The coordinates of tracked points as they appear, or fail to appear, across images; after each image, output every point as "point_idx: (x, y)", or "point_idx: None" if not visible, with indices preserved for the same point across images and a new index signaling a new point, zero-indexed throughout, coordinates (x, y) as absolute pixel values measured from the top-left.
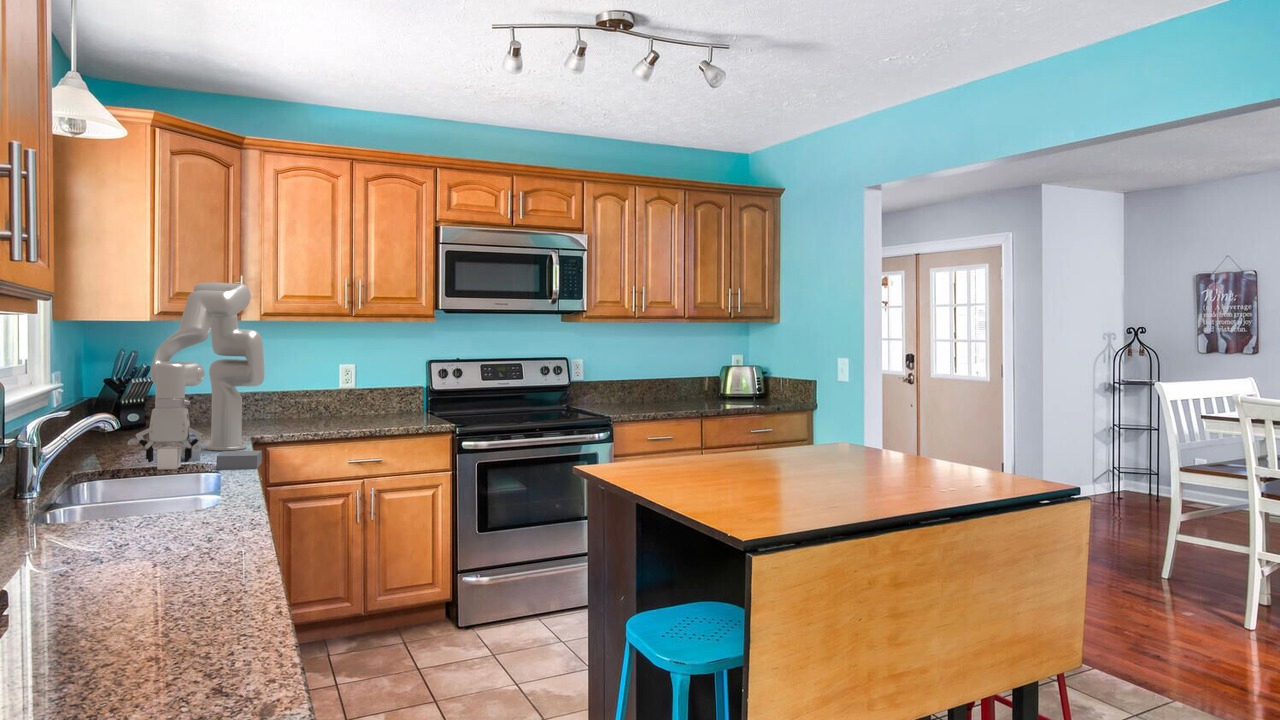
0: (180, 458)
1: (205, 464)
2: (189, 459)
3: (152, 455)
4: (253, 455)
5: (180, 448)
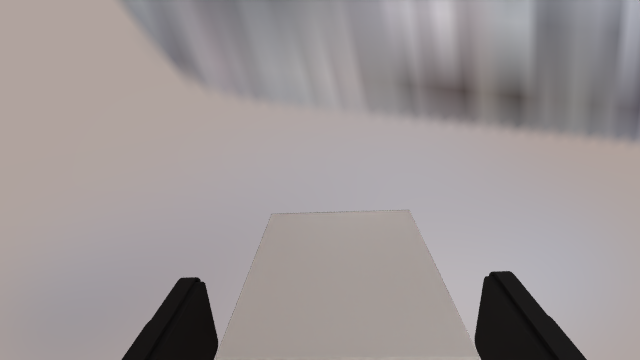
0: (427, 250)
1: (615, 117)
2: (511, 273)
3: (188, 345)
4: None
5: (468, 348)
